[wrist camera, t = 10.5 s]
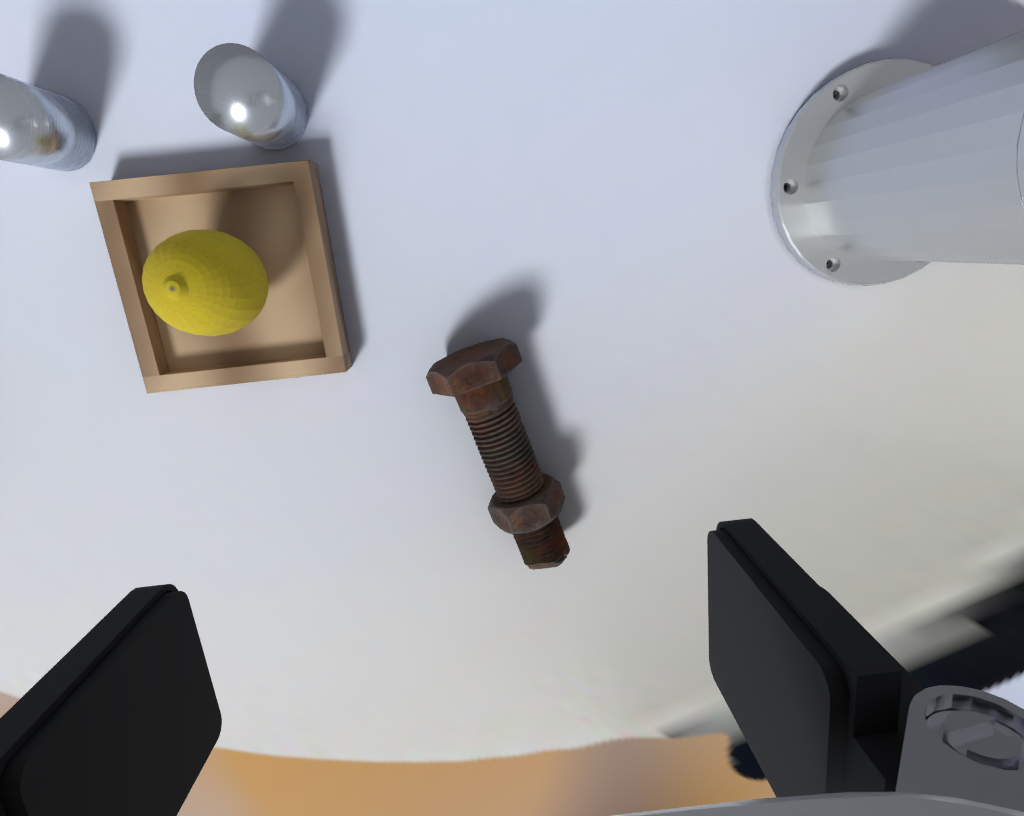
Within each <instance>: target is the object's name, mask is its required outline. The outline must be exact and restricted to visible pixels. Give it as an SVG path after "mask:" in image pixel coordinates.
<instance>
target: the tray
mask: <svg viewBox="0 0 1024 816" xmlns="http://www.w3.org/2000/svg"><path fill="white" fill-rule="evenodd" d="M90 187H91V190H92V194H93V197H94V201H95V205H96V208H97V212H98V216H99V219H100V223H101V227H102V230H103V234H104V238H105V241H106V245H107V249H108V252H109V256H110V260H111V263H112V267H113V270H114V274H115V278H116V281H117V285H118V289H119V292H120V296H121V300H122V303H123V307H124V311H125V314H126V318H127V322H128V325H129V329H130V332H131V336H132V340H133V343H134V347H135V351H136V354H137V358H138V362H139V365H140V369H141V373H142V376H143V380H144V384H145V387H146V391H147V393H155V392H165V391H174V390H183V389H192V388H201V387H211V386H220V385H229V384H238V383H248V382H257V381H266V380H275V379H284V378H294V377H303V376H312V375H321V374H331V373H340V372H346V371H347V370H348V369H350V368H351V367H352V362H351V356H350V351H349V345H348V339H347V334H346V328H345V322H344V317H343V311H342V305H341V300H340V294H339V289H338V283H337V277H336V272H335V266H334V260H333V255H332V249H331V243H330V238H329V232H328V226H327V221H326V215H325V209H324V204H323V198H322V192H321V187H320V181H319V175H318V170H317V165H316V164H314V163H312V162H310V161H308V160H305V161H295V162H286V163H276V164H266V165H256V166H246V167H237V168H227V169H217V170H207V171H198V172H188V173H178V174H168V175H158V176H149V177H139V178H129V179H119V180H110V181H100V182H90ZM201 229H209V230H214V231H219V232H224V233H227V234H229V235H231V236H233V237H235V238H237V239H239V240H241V241H243V242H244V243H245V244H246V245H247V246H249V247H250V248H251V249H252V250H253V251H254V252H255V253H256V255H257V256H258V257H259V258H260V260H261V262H262V264H263V266H264V268H265V270H266V273H267V278H268V296H267V299H266V302H265V305H264V307H263V309H262V310H261V312H260V313H259V315H258V316H257V317H256V318H255V319H254V320H253V321H252V322H251V323H249V324H248V325H247V326H245V327H244V328H241V329H239V330H237V331H235V332H233V333H230V334H224V335H218V336H204V335H194V334H190V333H187V332H184V331H181V330H178V329H176V328H174V327H173V326H171V325H169V324H168V323H166V322H165V321H163V320H162V319H161V318H160V317H159V316H158V315H157V314H156V313H155V312H154V310H153V309H152V307H151V306H150V305H149V303H148V301H147V299H146V296H145V294H144V291H143V284H142V274H143V267H144V265H145V262H146V260H147V258H148V256H149V254H150V253H151V252H152V251H153V249H154V248H155V247H156V246H157V245H158V244H160V243H161V242H163V241H164V240H166V239H167V238H169V237H170V236H172V235H175V234H178V233H181V232H184V231H188V230H201Z"/></svg>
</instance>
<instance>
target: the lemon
mask: <svg viewBox="0 0 1024 816" xmlns="http://www.w3.org/2000/svg"><path fill="white" fill-rule="evenodd" d="M142 284H143V291H144V294H145V296H146V299H147V301H148V303H149V305H150V306H151V307H152V309H153V310H154V312H155V313H156V314H157V315H158V316H159V317H160V318H161V319H162V320H163V321H165V322H166V323H168V324H169V325H171V326H173V327H174V328H176V329H178V330H181V331H184V332H187V333H190V334H194V335H204V336H218V335H224V334H230V333H233V332H235V331H237V330H239V329H241V328H244V327H245V326H247V325H248V324H249V323H251V322H252V321H253V320H254V319H255V318H256V317H257V316H258V315H259V313H260V312H261V310H262V309H263V307H264V305H265V302H266V299H267V296H268V278H267V273H266V270H265V268H264V266H263V264H262V262H261V260H260V258H259V257H258V256H257V255H256V253H255V252H254V251H253V250H252V249H251V248H250V247H249V246H247V245H246V244H245V243H244V242H243V241H241V240H239V239H237V238H235V237H233V236H231V235H229V234H227V233H224V232H219V231H214V230H209V229H201V230H188V231H184V232H181V233H178V234H175V235H172V236H170V237H169V238H167V239H166V240H164V241H163V242H161V243H160V244H158V245H157V246H156V247H155V248H154V249H153V251H152V252H151V253H150V254H149V256H148V258H147V260H146V262H145V265H144V267H143V274H142Z"/></svg>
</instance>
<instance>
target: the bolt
mask: <svg viewBox="0 0 1024 816" xmlns="http://www.w3.org/2000/svg"><path fill="white" fill-rule="evenodd" d="M520 362H522V358H521V356H520V353H519V350H518V347H517V345H516V343H514V342H512V341H510V340H508V339H505V338H500V339H495V340H490V341H485V342H482V343H479V344H476V345H473V346H471V347H467V348H464V349H462V350H460V351H457V352H455V353H453V354H451V355H449V356H447V357H445V358H443V359H441V360H439V361H437V362H436V363H435V364H433V366H432V367H431V368H430V370H429V372H428V374H427V376H426V379H427V381H428V384H429V386H430V388H431V391H432V393H433V394H439V395H446V396H453V397H455V398H456V400H457V403H458V405H459V407H460V410H461V412H462V413H463V414H464V415H465V417H466V421H467V422H468V425H469V426H470V430H471V431H472V435H473V436H474V440H475V441H476V445H477V446H478V450H479V451H480V452H479V453H480V455H481V456H482V457H481V458H482V460H483V463H484V464H485V467H486V469H487V472H488V473H489V477H490V478H491V481H492V483H493V486H494V487H495V488H494V489H495V491H496V492H495V493H494V494H493V496H492V498H491V500H490V503H489V506H488V510H489V513H490V515H491V518H492V520H493V522H494V523H495V524H496V525H497V526H498V527H499V528H500V529H502V530H503V531H505V532H508V533H510V534H513V535H514V538H515V540H516V543H517V545H518V548H519V550H520V552H521V555H522V558H523V560H524V563H525V565H527V566H528V567H529V568H530V569H542V568H551V567H557V566H559V565H560V564H562V562H563V561H564V560H565V558H566V557H567V555H568V554H569V551H570V548H569V545H568V542H567V540H566V538H565V535H564V533H563V530H562V527H561V525H560V521H559V519H558V517H557V516H558V515H559V513H560V511H561V509H562V507H563V503H564V499H565V496H564V493H563V490H562V487H561V485H560V483H559V482H558V481H557V480H555V479H554V478H553V477H551V476H549V475H546V474H542V473H541V472H540V468H539V465H538V463H537V460H536V459H535V455H534V454H533V453H534V452H533V450H532V447H531V445H530V441H529V440H528V436H527V435H526V431H525V429H524V426H523V423H522V421H521V417H520V416H519V412H518V409H517V407H516V404H515V402H514V398H513V396H512V389H511V386H510V383H509V381H508V378H507V374H508V373H509V372H510V371H512V370H513V369H514V368H515V367H516V366H517V365H518V364H519V363H520Z"/></svg>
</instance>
